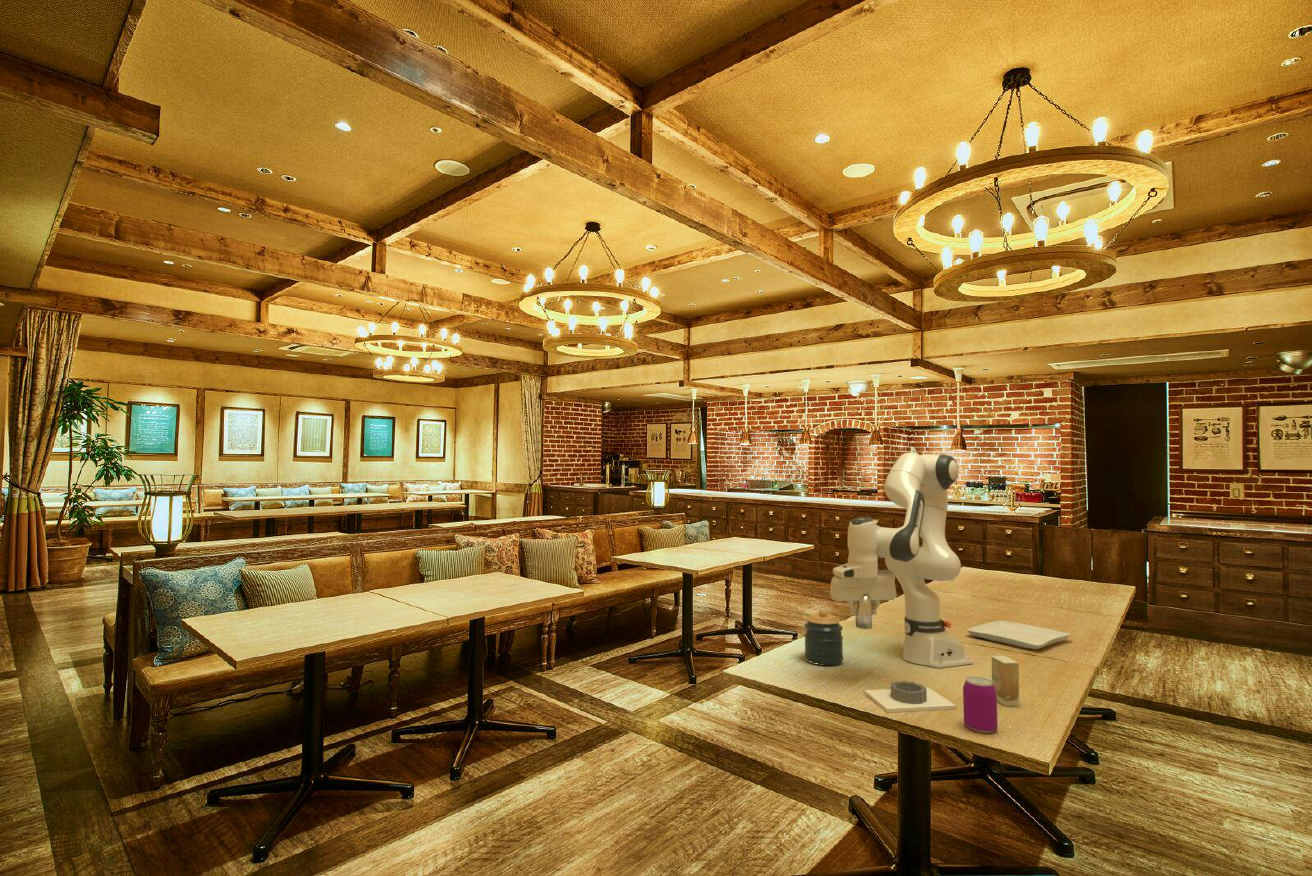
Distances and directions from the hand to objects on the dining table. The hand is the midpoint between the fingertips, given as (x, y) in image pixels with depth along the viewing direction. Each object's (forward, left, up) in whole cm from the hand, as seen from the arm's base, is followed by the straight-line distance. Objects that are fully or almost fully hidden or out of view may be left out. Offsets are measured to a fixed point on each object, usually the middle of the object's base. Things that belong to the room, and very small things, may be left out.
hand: (863, 614), depth 189 cm
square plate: (-81, -39, -22) cm, 93 cm away
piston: (0, 0, -4) cm, 4 cm away
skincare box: (-33, +19, -21) cm, 44 cm away
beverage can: (-15, +34, -21) cm, 43 cm away
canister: (+4, -23, -21) cm, 32 cm away
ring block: (-6, +15, -21) cm, 26 cm away
